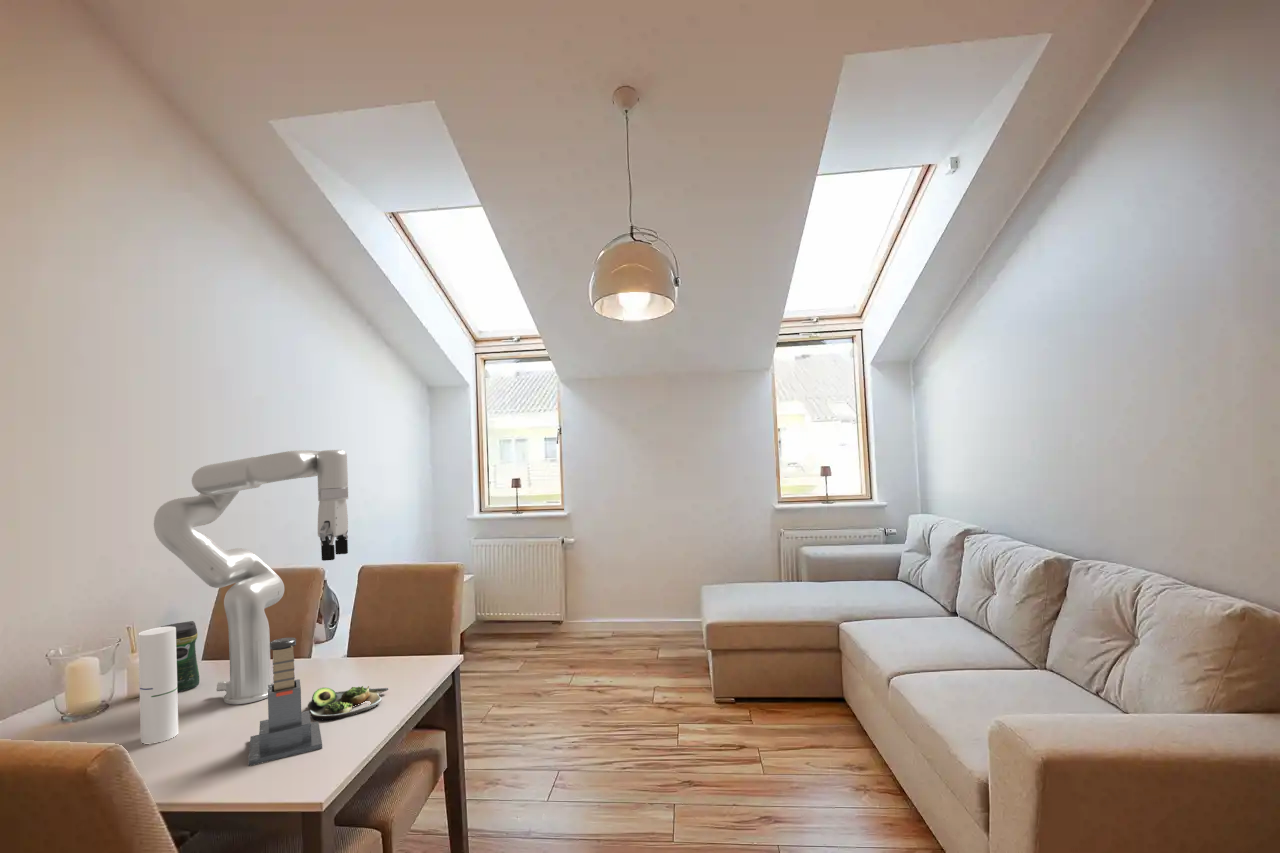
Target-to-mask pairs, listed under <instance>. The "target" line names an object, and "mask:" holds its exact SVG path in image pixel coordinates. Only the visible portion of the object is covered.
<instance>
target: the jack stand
mask: <svg viewBox="0 0 1280 853" xmlns="http://www.w3.org/2000/svg"><path fill="white" fill-rule="evenodd" d="M267 710H268V712H267V713H268V718H267V719H263V720H260V721H259V730H258V732H259V734H256V735H251V736H250V738H249V750H248V767H250V765H251V766H254V764H255V765H259V764H263V763H267V761H268V762H271V761H275V760H279V759H283V758H288V757H292V756H296V755H300V754H304V753H309V752H314V751H316V750H320V749H323V740H322V739H323V738H322V734H321V727H320V723H319V722H320V721H314V722H311V715H310V713H309V711H308V710H305V711H302V689H301V679H294V688H291V689H285V690H280V691H275V692H274V683H273V684H272V685H268V698H267ZM262 762H263V763H262ZM258 763H259V764H258Z"/></svg>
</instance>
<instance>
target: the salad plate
mask: <svg viewBox="0 0 1280 853" xmlns="http://www.w3.org/2000/svg"><path fill="white" fill-rule="evenodd" d="M388 690H389V687H383V688H379V687H378V688H370V686H369V685H368V686H367V687H364V685H362V686H357V687H356V686H352V687H351V688H349V689H348V690H344V691H335V690H333V689H332V688H330V687H320V688H317V689H316V690H315V691H314V692H313V694H312V696H311V700H310V701H308V703H307V709H308V710H307V711H309V713H310V718H311V719H313V720H315V721H319V722H320V721H323V722H326V721H333V719H334V720H340V719H343V718H346V717H349V716H353V714H354V715H357V714H360V713H363V712H366V711H369V710H372V709H374V708H375V707H377V706H378V705H379V704H380V703H382V700H383V699H382V697H381V696H380V694H382V693H384V692H387V691H388ZM365 701H370V702H371V704H370V705H369V704H368V705H367V706H364V707H362V708H358V709H355V710H353V708H354V707H353V706H355V705H358V704H361V703H363V702H365ZM376 705H377V706H376ZM358 706H359V705H358ZM352 707H353V708H352ZM355 707H356V706H355ZM373 707H374V708H373ZM371 708H372V709H371ZM368 709H369V710H368ZM365 710H366V711H365ZM362 711H363V712H362ZM356 713H357V714H356Z"/></svg>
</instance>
